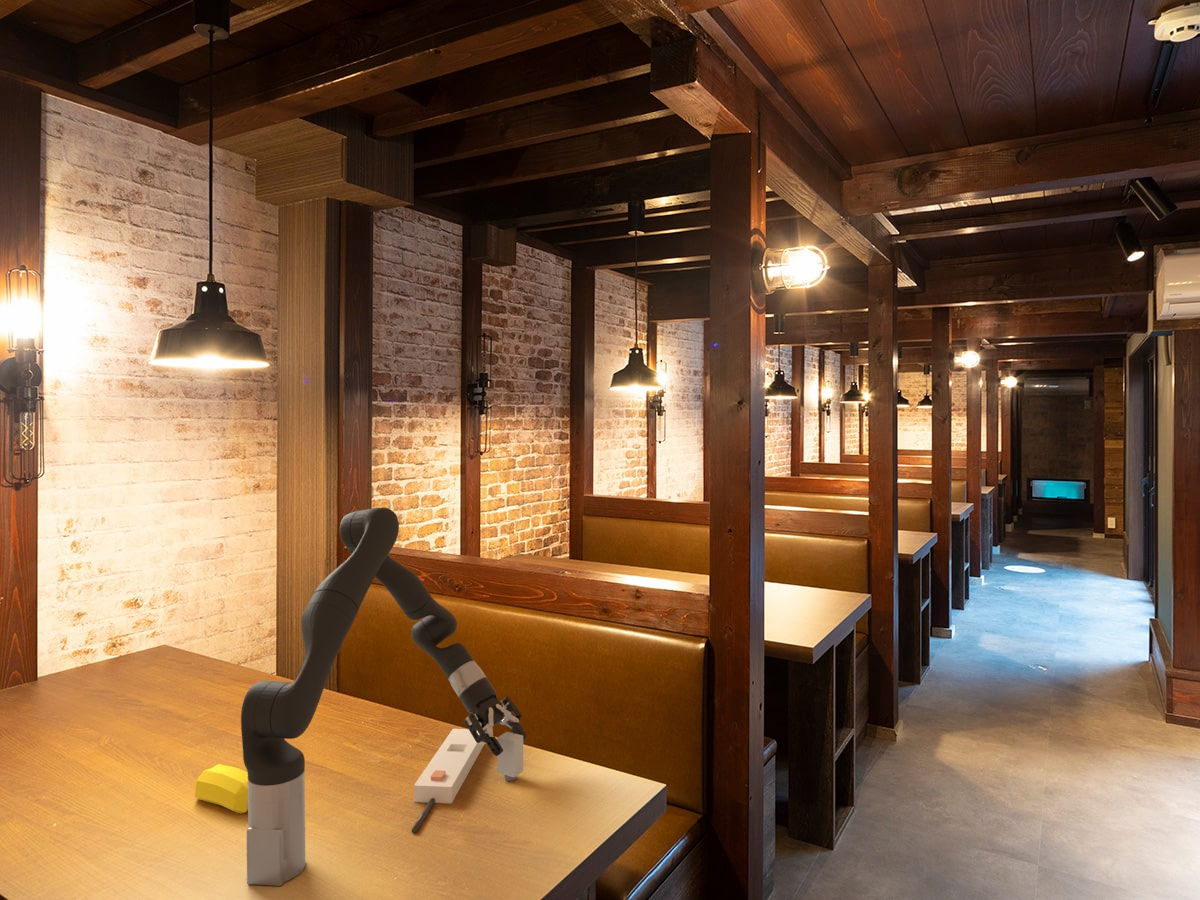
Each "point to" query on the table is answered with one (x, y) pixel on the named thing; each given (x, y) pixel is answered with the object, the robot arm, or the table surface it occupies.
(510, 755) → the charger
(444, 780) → the power strip
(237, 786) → the yellow banana
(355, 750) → the table surface
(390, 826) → the table surface
